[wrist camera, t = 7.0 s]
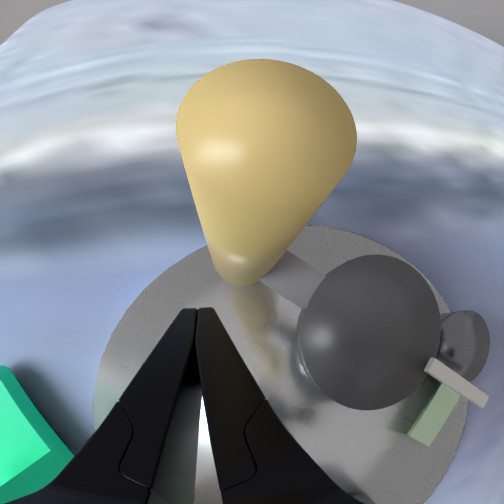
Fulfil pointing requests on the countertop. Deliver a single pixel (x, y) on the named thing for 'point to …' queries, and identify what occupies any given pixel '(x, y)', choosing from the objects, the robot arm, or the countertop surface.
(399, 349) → the tan post with disc
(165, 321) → the plate
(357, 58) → the countertop surface
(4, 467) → the camera mount
